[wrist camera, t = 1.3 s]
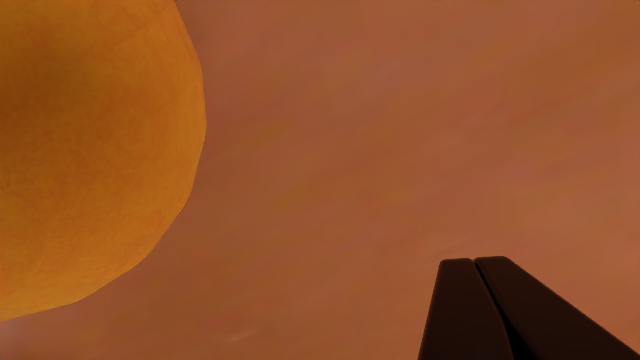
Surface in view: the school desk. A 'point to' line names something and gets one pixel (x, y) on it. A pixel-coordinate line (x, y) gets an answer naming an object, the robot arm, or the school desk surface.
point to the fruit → (91, 142)
